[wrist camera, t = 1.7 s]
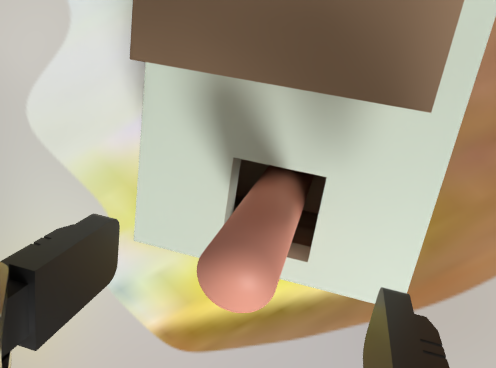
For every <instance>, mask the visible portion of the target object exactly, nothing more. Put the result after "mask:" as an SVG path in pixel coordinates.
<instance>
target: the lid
mask: <svg viewBox="0 0 496 368" xmlns="http://www.w3.org/2000/svg"><path fill="white" fill-rule="evenodd" d="M495 16H496V0H133V9H132V28H131V46H130V59H131V60H137V61H143V62H146V64H145V79H144V95H143V110H142V125H141V140H140V155H139V170H138V185H137V201H136V216H135V231H134V241H137V242H141V243H144V244H148V245H152V246H156V247H160V248H164V249H167V250H171V251H175V252H179V253H183V254H187V255H190V256H194V257H198V258H200V256H201V254H202V253H203V252H204V250H205V249H206V248H207V246H208V245H209V244H210V242H211V241H212V240H213V238H214V237H215V236H216V234H217V233H218V232H219V231H220V229H221V228H222V227H223V225H224V224H225V223H226V221H227V220H228V219H229V217H230V216H231V215H232V213H233V210H234V204H235V197H236V190H237V184H238V177H239V170H240V163H241V159H244V160H248V161H253V162H258V163H262V164H267V165H272V166H276V167H281V168H286V169H290V170H295V171H300V172H304V173H309V174H314V175H319V176H323V177H327V178H326V183H325V187H324V192H323V196H322V201H321V205H320V210H319V214H318V219H317V223H316V228H315V232H314V237H313V241H312V245H311V247H309V246H305V245H301V244H297V243H293V242H292V243H291V246H290V249H289V252H288V255H287V258H286V260H285V263H284V266H283V269H282V272H281V275H280V278H279V279H282V280H286V281H290V282H294V283H297V284H301V285H305V286H309V287H313V288H317V289H320V290H324V291H328V292H332V293H336V294H339V295H343V296H347V297H351V298H355V299H359V300H362V301H366V302H370V303H374V304H375V302H376V299H377V296H378V293H379V290H380V288H381V287H383V288H387V289H391V290H395V291H399V292H403V293H407V291H408V288H409V284H410V281H411V278H412V275H413V272H414V269H415V266H416V263H417V260H418V256H419V253H420V250H421V247H422V244H423V241H424V238H425V235H426V232H427V228H428V225H429V222H430V219H431V216H432V213H433V210H434V207H435V203H436V200H437V197H438V194H439V191H440V188H441V185H442V182H443V179H444V175H445V172H446V169H447V166H448V163H449V160H450V157H451V154H452V150H453V147H454V144H455V141H456V138H457V135H458V132H459V129H460V126H461V122H462V119H463V116H464V113H465V110H466V107H467V104H468V101H469V97H470V94H471V91H472V88H473V85H474V82H475V79H476V76H477V73H478V69H479V66H480V63H481V60H482V57H483V54H484V51H485V48H486V44H487V41H488V38H489V35H490V32H491V29H492V26H493V23H494V20H495Z"/></svg>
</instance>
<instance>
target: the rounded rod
mask: <svg viewBox="0 0 496 368" xmlns="http://www.w3.org/2000/svg"><path fill="white" fill-rule="evenodd" d="M313 177H314V174H309V173H304V172H300V171H295V170H290V169H286V168H281V167H276V166H272V165H269V166H268V167H267V169H266V170H265V171H264V173H263V174H262V175H261V177H260V178H259V179H258V181H257V182H256V183H255V185H254V186H253V187H252V189H251V190H250V191H249V192H248V194H247V195H246V196H245V198H244V199H243V200H242V202H241V203H240V204H239V206H238V207H237V208H236V210H235V211H234V212H233V213H232V215H231V216H230V217H229V219H228V220H227V221H226V223H225V224H224V225H223V227H222V228H221V229H220V231H219V232H218V233H217V234H216V236H215V237H214V238H213V240H212V241H211V242H210V244H209V245H208V246H207V248H206V249H205V250H204V252H203V253H202V254H201V256H200V258H199V261H198V265H197V277H198V281H199V284H200V286H201V288H202V290H203V292H204V293H205V294H206V296H207V297H208V298H209V299H210V300H211V301H212V302H213V303H215V304H216V305H218V306H219V307H221V308H223V309H225V310H228V311H231V312H236V313H249V312H253V311H256V310H259V309H261V308H262V307H264V306H265V305H266V304H267V303H268V302H269V301H270V300H271V299H272V297H273V295H274V293H275V290H276V287H277V284H278V281H279V278H280V275H281V272H282V269H283V266H284V263H285V260H286V258H287V255H288V252H289V249H290V246H291V243H292V240H293V237H294V234H295V231H296V228H297V225H298V222H299V219H300V216H301V213H302V210H303V207H304V204H305V201H306V198H307V195H308V192H309V189H310V186H311V183H312V180H313Z"/></svg>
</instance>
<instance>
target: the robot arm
mask: <svg viewBox="0 0 496 368" xmlns="http://www.w3.org/2000/svg"><path fill="white" fill-rule="evenodd" d="M118 245H119V222H118V220H117V219H114V218H110V217H106V216H102V215H98V214H92V215H90V216H88V217H87V218H85V219H83V220H81V221H80V222H78V223H76V224H75V225H70V226H66V227H63V228H59V229H56V230H54V231H53V232H51V233H49V234H48V235H46V236H44V238H40V239H39V240H37V241H35V242H34V244H30V245H28V246H27V247H25V248H23V249H21V250H20V251H18V252H16V253H14V254H13V255H11V256H9V257H8V258H6V259H4V260H2V261H1V262H0V368H11V361H12V359H11V350H12V349H14V347H16V346H17V345H19V346H22V347H25V348H28V349H31V350H34V351H36V350H37V349H39V348H40V347H41V346H42V345H43V344H44V343H45V342H46V341H47V340H48V339H49V338H51V337H52V336H53V335H54V334H55V333H56V332H57V331H58V330H59V329H60V328H61V327H63V326H64V325H65V324H66V323H67V322H68V321H69V320H70V319H71V318H72V317H73V316H74V315H76V314H77V313H78V312H79V311H80V310H81V309H82V308H83V307H84V306H85V305H86V304H87V303H89V302H90V301H91V300H92V299H93V298H94V297H95V296H96V295H97V294H98V293H99V292H101V291H102V289H104V288H105V287H106V286H107V285H108V284H109V283H110V282H111V280H112V279H113V277H114V275H115V272H116V269H117V262H118ZM363 368H449V365H448V362H447V360H446V355H445V352H444V349H443V347H442V342H441V339H440V336H439V333H438V330H437V329H436V328H435V327H434V326H433V324H432V323H431V322H430V321H429V320H428V319H427V317H424V316H420V315H416V314H414V312H413V307H412V303H411V299H410V295H409V294H407V293H403V292H399V291H395V290H391V289H387V288H383V287H381V288H380V290H379V293H378V296H377V299H376V302H375V306H374V309H373V313H372V316H371V320H370V323H369V327H368V330H367V334H366V338H365V343H364V350H363Z"/></svg>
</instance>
